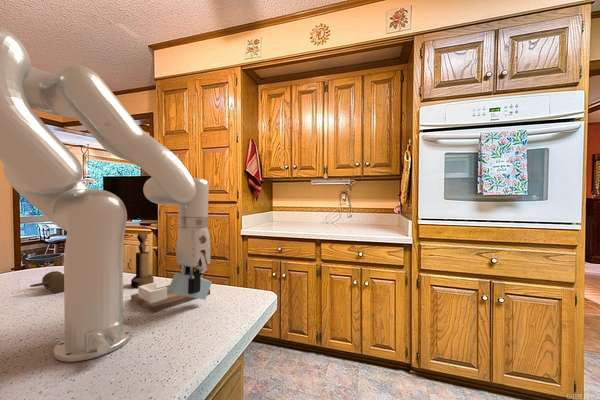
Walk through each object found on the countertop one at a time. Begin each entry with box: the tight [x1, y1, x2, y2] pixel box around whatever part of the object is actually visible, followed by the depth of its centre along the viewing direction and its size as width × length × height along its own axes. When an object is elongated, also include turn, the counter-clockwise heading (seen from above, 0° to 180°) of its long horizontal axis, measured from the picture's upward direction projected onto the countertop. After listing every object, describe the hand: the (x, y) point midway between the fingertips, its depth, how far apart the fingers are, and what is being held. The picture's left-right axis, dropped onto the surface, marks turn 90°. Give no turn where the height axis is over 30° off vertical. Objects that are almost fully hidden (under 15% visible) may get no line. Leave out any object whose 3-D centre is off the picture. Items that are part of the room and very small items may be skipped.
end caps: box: [137, 282, 167, 303], centre depth 80 cm, size 8×16×3 cm, turn 143°
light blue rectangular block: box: [168, 271, 213, 301], centre depth 72 cm, size 3×10×5 cm, turn 142°
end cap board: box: [130, 284, 211, 313], centre depth 80 cm, size 14×17×2 cm
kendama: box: [29, 270, 64, 294], centre depth 90 cm, size 6×10×20 cm
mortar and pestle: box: [130, 232, 155, 289], centre depth 91 cm, size 7×6×18 cm
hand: (190, 290), depth 72 cm, fingers closed on light blue rectangular block, 2 cm apart
